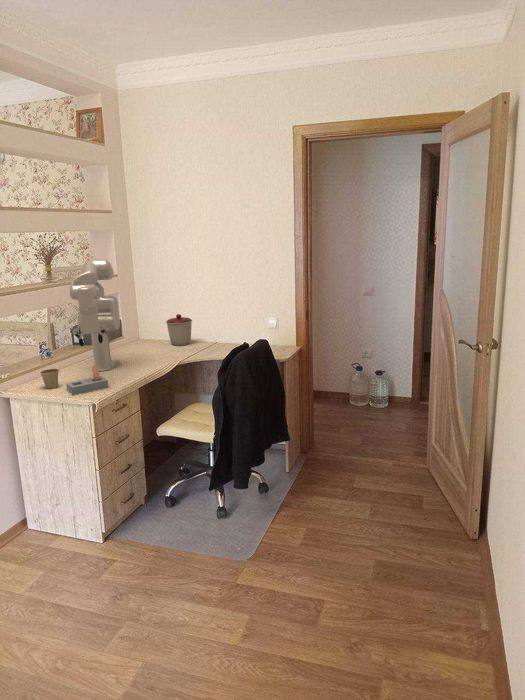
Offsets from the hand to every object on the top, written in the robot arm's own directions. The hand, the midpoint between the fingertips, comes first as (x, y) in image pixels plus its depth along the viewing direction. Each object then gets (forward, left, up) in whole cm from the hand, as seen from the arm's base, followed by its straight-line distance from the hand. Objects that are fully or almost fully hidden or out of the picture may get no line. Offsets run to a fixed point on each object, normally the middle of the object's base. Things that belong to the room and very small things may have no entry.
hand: (91, 344), depth 271 cm
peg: (0, +2, -22) cm, 23 cm away
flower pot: (+18, -16, -23) cm, 33 cm away
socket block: (+5, +2, -22) cm, 23 cm away
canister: (-80, -56, -23) cm, 100 cm away
